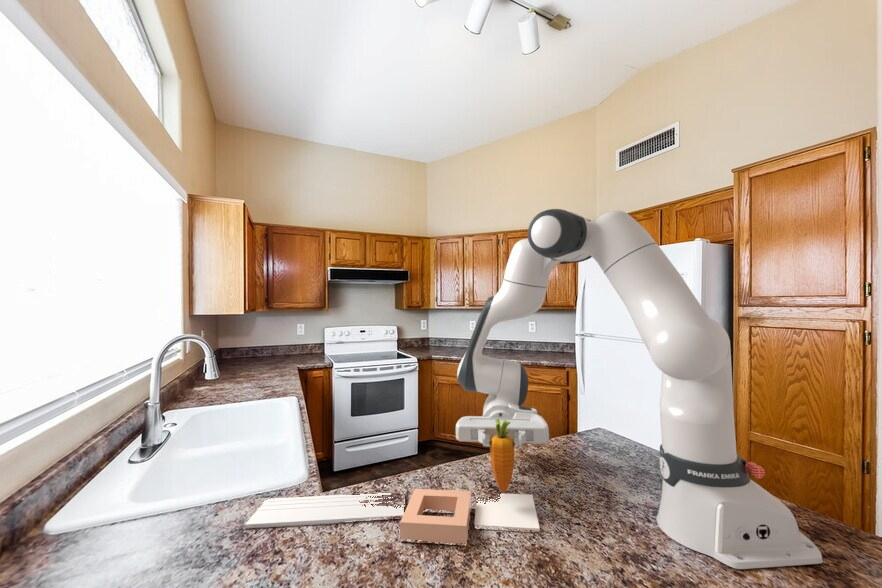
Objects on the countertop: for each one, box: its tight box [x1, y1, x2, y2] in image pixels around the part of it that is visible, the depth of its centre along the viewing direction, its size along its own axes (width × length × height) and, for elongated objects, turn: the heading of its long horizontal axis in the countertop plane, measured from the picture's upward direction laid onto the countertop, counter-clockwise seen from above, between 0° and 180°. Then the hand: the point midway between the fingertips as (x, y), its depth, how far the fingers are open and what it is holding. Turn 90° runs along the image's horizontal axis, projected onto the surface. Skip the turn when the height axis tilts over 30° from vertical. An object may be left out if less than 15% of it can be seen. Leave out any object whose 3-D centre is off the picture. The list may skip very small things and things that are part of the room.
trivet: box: [474, 492, 541, 532], centre depth 72 cm, size 12×12×1 cm
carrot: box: [489, 418, 515, 494], centre depth 72 cm, size 5×5×15 cm
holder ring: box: [399, 488, 472, 543], centre depth 69 cm, size 12×12×4 cm
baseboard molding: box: [244, 484, 408, 530], centre depth 76 cm, size 31×3×12 cm
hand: (502, 443), depth 72 cm, fingers closed on carrot, 5 cm apart
